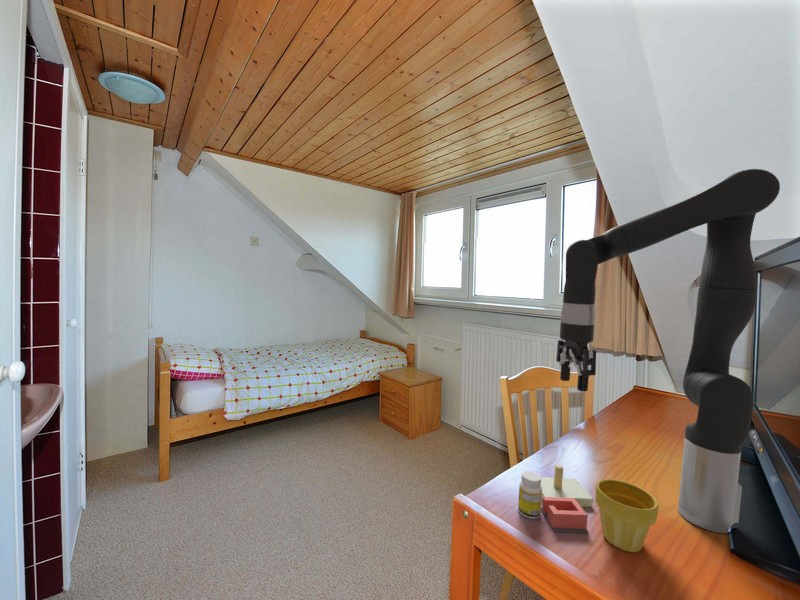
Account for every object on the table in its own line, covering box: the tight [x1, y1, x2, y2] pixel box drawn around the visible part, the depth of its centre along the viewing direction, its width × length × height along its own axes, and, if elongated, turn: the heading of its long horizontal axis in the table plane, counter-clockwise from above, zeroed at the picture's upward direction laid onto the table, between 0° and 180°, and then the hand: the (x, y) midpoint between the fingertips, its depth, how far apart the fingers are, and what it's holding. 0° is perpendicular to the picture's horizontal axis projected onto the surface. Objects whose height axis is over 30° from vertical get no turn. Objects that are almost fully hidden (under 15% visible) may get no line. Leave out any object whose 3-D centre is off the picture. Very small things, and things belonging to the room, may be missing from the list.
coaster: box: [541, 507, 589, 534], centre depth 75 cm, size 7×7×1 cm
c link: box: [541, 497, 589, 530], centre depth 75 cm, size 7×6×3 cm
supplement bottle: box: [517, 470, 542, 520], centre depth 77 cm, size 5×5×8 cm
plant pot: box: [595, 478, 659, 553], centre depth 70 cm, size 10×10×10 cm
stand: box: [540, 464, 594, 508], centre depth 84 cm, size 11×8×7 cm
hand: (573, 385), depth 88 cm, fingers open, 8 cm apart
